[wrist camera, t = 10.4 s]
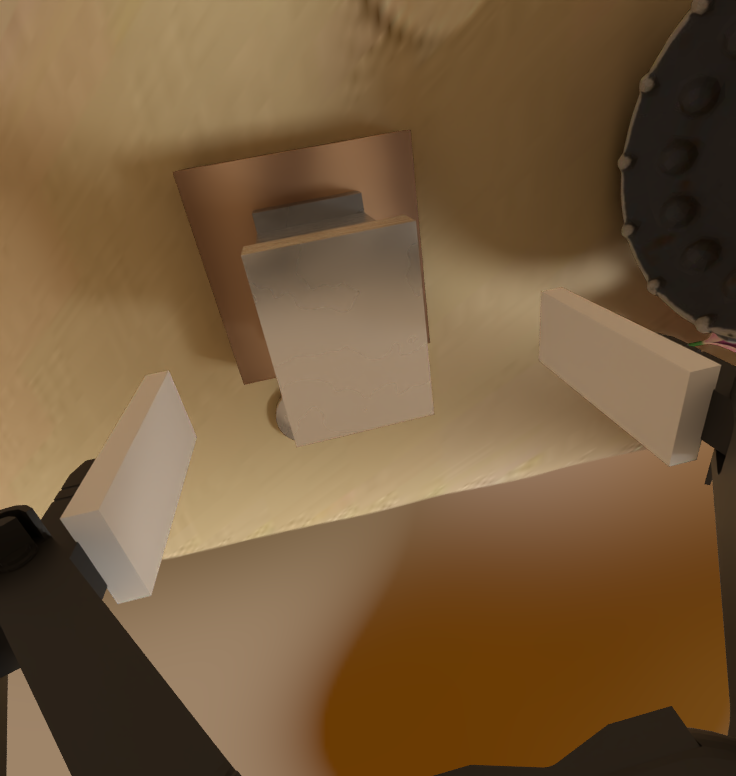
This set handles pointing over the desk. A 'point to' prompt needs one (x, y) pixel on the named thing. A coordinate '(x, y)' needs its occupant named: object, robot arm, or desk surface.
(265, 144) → the desk surface
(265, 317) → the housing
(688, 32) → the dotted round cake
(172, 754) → the robot arm
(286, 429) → the domed puck
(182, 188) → the walnut stand
